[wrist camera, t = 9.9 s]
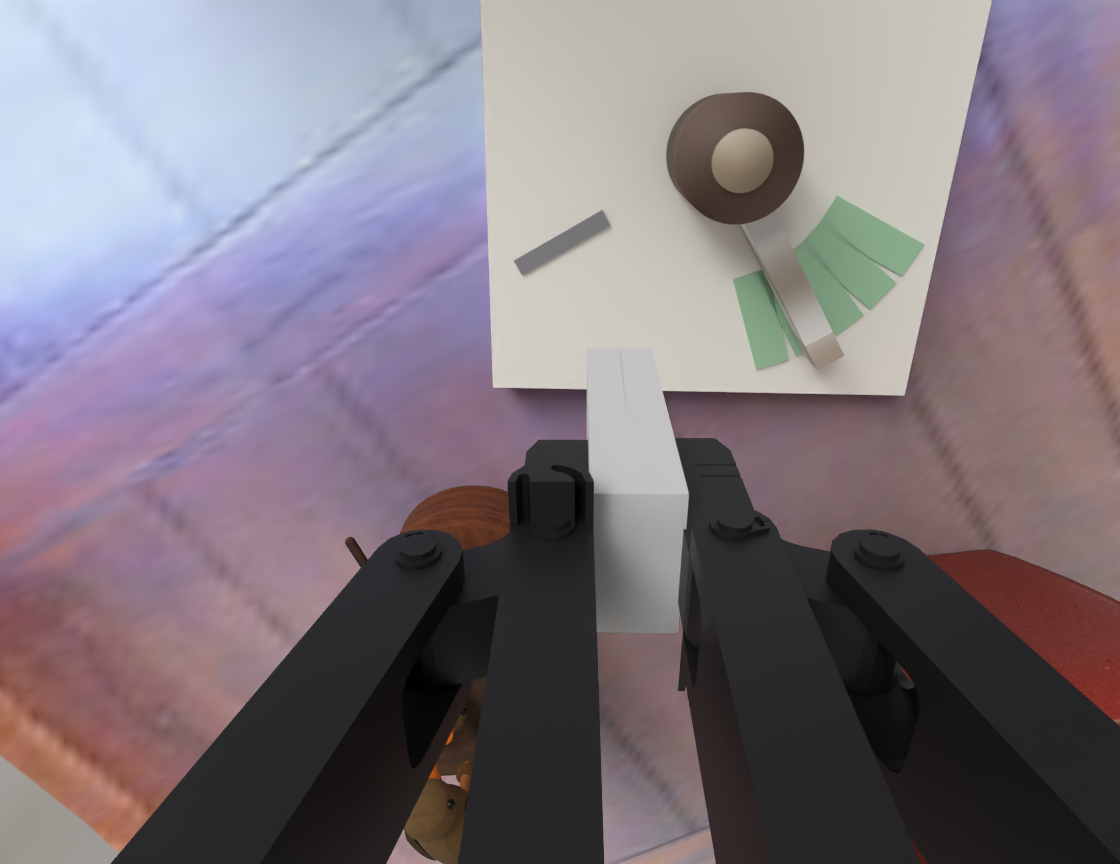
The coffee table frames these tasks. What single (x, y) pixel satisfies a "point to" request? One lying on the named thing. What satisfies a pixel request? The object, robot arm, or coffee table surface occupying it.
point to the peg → (752, 195)
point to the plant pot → (1047, 620)
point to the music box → (442, 805)
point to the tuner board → (680, 229)
